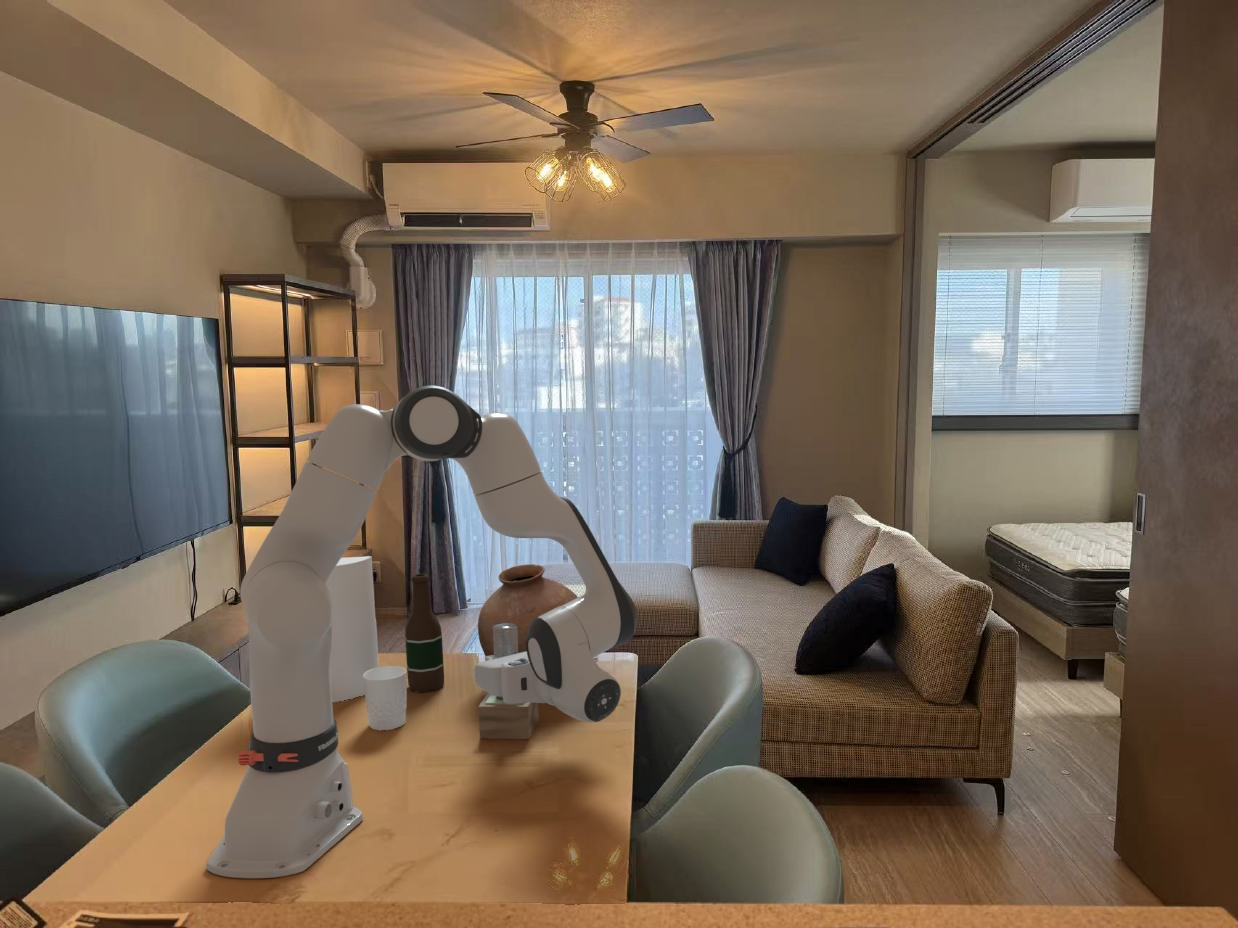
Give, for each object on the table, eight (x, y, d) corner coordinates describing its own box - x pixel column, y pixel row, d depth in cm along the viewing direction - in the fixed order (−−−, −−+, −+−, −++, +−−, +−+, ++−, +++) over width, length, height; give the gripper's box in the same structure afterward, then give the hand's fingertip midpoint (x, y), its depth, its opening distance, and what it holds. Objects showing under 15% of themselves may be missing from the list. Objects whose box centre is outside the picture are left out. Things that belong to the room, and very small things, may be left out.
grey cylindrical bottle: (517, 700, 158) (514, 629, 156) (493, 700, 158) (489, 630, 157) (523, 691, 162) (520, 622, 161) (498, 691, 163) (495, 623, 161)
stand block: (529, 739, 156) (527, 705, 155) (480, 738, 157) (478, 704, 156) (538, 719, 165) (537, 687, 164) (492, 719, 166) (490, 686, 165)
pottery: (597, 666, 194) (593, 555, 192) (577, 704, 172) (572, 580, 169) (498, 664, 198) (493, 555, 195) (465, 702, 175) (459, 579, 172)
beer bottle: (440, 692, 181) (434, 578, 179) (403, 693, 181) (396, 579, 179) (448, 679, 189) (442, 570, 186) (412, 680, 189) (406, 571, 186)
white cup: (415, 715, 169) (412, 665, 168) (400, 732, 161) (397, 679, 160) (375, 715, 170) (372, 665, 168) (359, 732, 162) (356, 679, 161)
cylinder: (373, 699, 178) (364, 564, 175) (285, 706, 176) (275, 569, 173) (385, 671, 195) (377, 548, 193) (305, 677, 193) (296, 552, 191)
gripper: (602, 643, 152) (561, 626, 163) (496, 669, 140) (460, 648, 152) (603, 678, 152) (562, 658, 164) (498, 707, 141) (462, 684, 152)
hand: (512, 654), depth 158 cm, fingers open, 8 cm apart
